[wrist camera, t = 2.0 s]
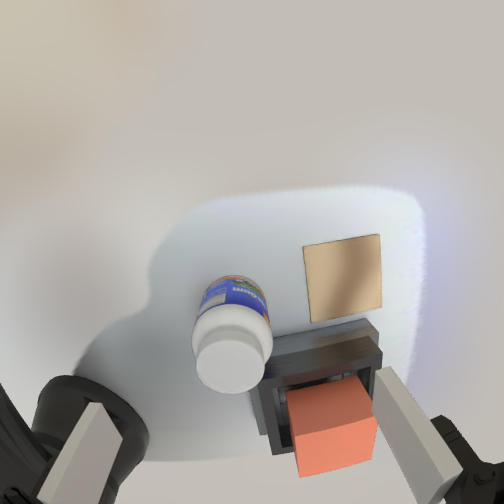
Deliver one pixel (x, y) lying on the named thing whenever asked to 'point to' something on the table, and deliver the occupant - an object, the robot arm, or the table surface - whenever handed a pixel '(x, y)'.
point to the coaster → (343, 277)
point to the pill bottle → (232, 336)
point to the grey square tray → (312, 371)
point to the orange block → (331, 425)
